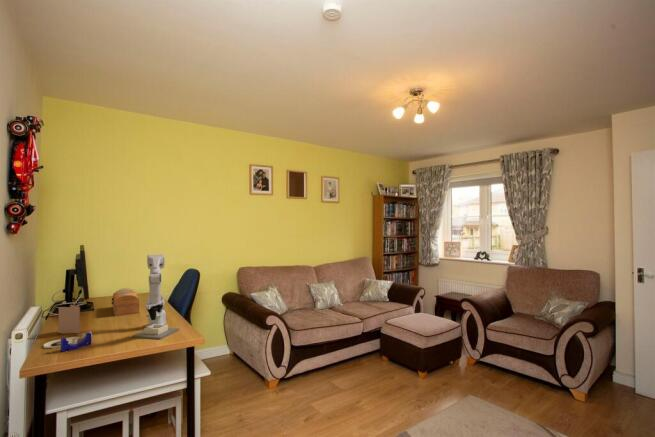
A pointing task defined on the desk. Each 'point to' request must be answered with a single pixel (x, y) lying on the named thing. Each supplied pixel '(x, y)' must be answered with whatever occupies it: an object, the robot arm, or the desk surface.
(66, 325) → the greeting card
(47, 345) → the light piece
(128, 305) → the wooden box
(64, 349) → the blue cradle holder
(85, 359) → the desk surface
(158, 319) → the block
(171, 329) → the pocket plate
